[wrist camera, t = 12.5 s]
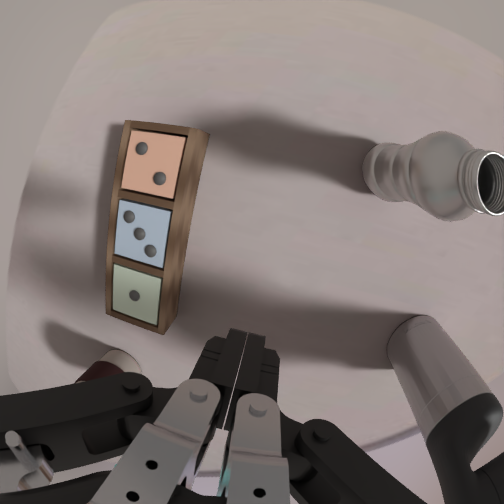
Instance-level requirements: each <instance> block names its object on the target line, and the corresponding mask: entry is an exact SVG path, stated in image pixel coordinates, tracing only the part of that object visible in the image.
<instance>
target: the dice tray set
mask: <svg viewBox="0 0 504 504" xmlns="http://www.w3.org/2000/svg"><path fill="white" fill-rule="evenodd" d="M131 131H141V132H149V133H157V134H164V135H171V136H178V137H184V138H187V143H186V147H185V152H184V156H183V161H182V165H181V170H180V175H179V180H178V185H177V191H176V196H175V198H173V199H172V198H167V197H163V196H158V195H154V194H149V193H144V192H140V191H135V190H130V189H125V188H121V186H122V179H123V173H124V167H125V161H126V156H127V151H128V146H129V141H130V136H131ZM209 135H210V134H208V133H206V132H204V131H201V130H199V129H196V128H190V127H183V126H176V125H168V124H160V123H151V122H142V121H131V120H125V124H124V128H123V133H122V138H121V142H120V148H119V153H118V158H117V164H116V170H115V176H114V183H113V190H112V198H111V207H110V216H109V227H108V240H107V257H106V314H108V315H110V316H113V317H115V318H118V319H120V320H123V321H125V322H128V323H131V324H133V325H136V326H139V327H142V328H144V329H147V330H150V331H153V332H156V333H159V334H162V335H164V334H165V332H166V331H167V329H168V328H169V327H170V325H171V324H172V322H173V321H174V319H175V318H176V316H177V308H178V301H179V294H180V286H181V280H182V273H183V267H184V260H185V254H186V248H187V242H188V236H189V231H190V225H191V220H192V215H193V209H194V204H195V199H196V194H197V189H198V184H199V180H200V175H201V170H202V166H203V161H204V157H205V152H206V148H207V144H208V140H209ZM121 199H129V200H133V201H138V202H142V203H146V204H151V205H155V206H159V207H163V208H168V209H172V210H173V213H172V219H171V225H170V231H169V238H168V245H167V252H166V259H165V266H164V267H163V268H161V267H157V266H154V265H151V264H147V263H144V262H141V261H137V260H134V259H131V258H128V257H125V256H121V255H118V254H115V240H116V228H117V218H118V209H119V201H120V200H121ZM115 263H118V264H121V265H124V266H127V267H130V268H133V269H136V270H139V271H143V272H146V273H149V274H152V275H155V276H159V277H162V278H163V283H162V292H161V302H160V313H159V322H158V324H157V325H155V324H152V323H149V322H146V321H143V320H140V319H138V318H135V317H132V316H129V315H127V314H124V313H121V312H119V311H116V310H114V309H113V275H114V264H115Z"/></svg>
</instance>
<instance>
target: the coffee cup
mask: <svg viewBox="0 0 504 504" xmlns="http://www.w3.org/2000/svg"><path fill="white" fill-rule="evenodd" d="M123 372H135V373H139V374H141V369H140V367H139V365H138V363H137V362H136V361H135V360H134V359H133V358H132V357H131V356H130V355H129V354H127V353H125V352H123V351H120V350H110V351H109V352H107V353H106V354H105V355H104V356H103V357H102V358H101V359H100V360H99V361H97V362H95V363H94V364H93V365H92V366H91V367H90V368H89V369H88V370H87V371H86V372H85V373H84V374H83V375H81V376H80V377H79V378H78V379H77V380H76V382H75V383H80V382H85V381H89V380H94V379H98V378H102V377H107V376H111V375H115V374H119V373H123ZM75 383H74V384H75Z"/></svg>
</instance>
